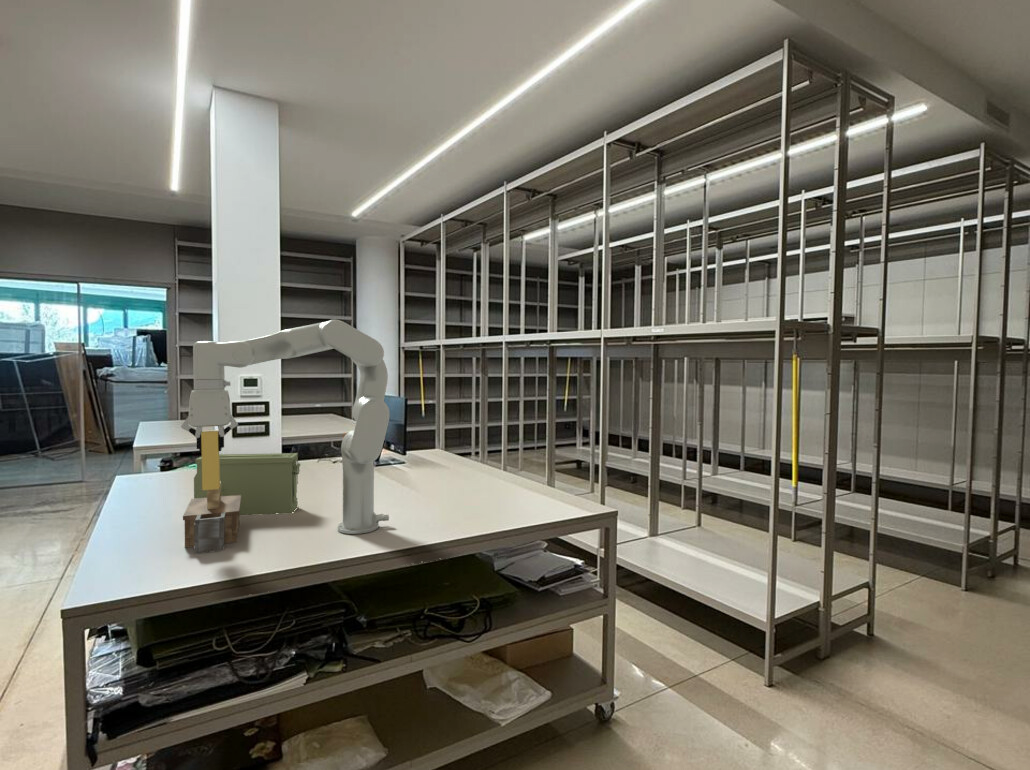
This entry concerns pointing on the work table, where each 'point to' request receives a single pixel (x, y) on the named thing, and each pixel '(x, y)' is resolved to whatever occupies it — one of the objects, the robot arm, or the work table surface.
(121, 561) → the work table surface
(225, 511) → the lid
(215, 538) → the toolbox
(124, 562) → the work table surface
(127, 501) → the work table surface
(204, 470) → the yellow rectangular block
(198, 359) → the robot arm
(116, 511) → the work table surface
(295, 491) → the ammunition box
